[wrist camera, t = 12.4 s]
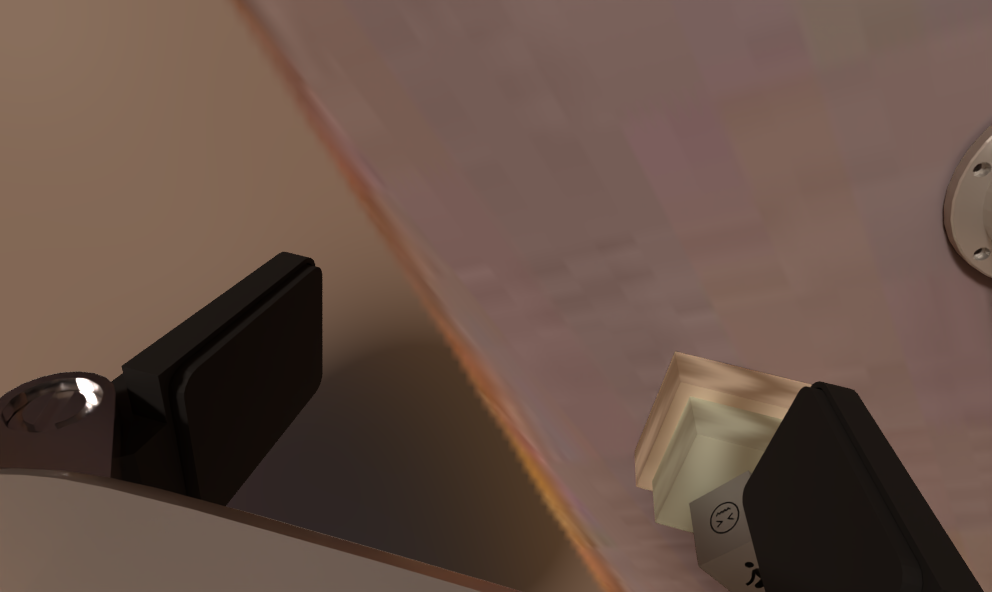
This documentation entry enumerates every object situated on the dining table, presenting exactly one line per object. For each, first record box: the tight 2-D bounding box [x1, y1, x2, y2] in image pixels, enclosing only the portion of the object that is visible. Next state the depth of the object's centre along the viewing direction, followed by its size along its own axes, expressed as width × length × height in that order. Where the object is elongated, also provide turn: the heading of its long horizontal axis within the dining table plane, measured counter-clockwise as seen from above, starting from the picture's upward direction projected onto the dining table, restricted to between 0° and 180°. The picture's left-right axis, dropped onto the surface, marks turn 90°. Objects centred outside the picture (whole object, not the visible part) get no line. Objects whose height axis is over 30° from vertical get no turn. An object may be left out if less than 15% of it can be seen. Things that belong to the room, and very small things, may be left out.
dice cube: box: [689, 470, 765, 592], centre depth 35 cm, size 5×5×5 cm
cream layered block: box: [635, 351, 812, 533], centre depth 40 cm, size 11×11×8 cm
